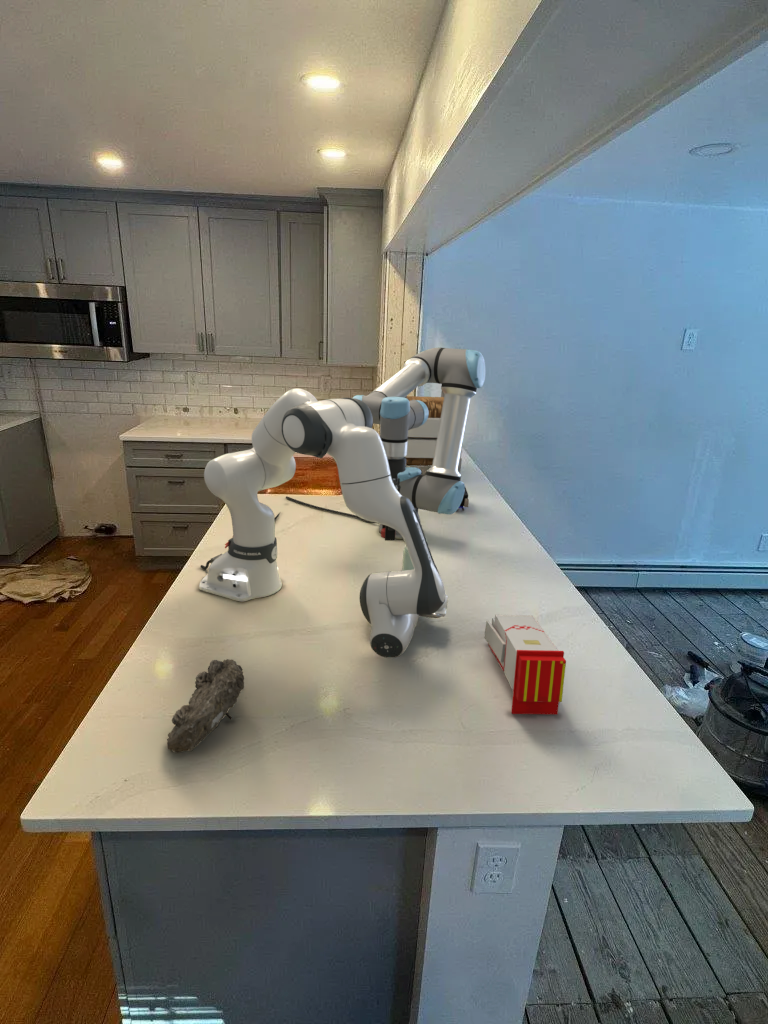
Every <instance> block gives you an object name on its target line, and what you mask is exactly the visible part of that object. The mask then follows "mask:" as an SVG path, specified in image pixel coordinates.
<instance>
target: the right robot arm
mask: <svg viewBox="0 0 768 1024" xmlns="http://www.w3.org/2000/svg"><path fill="white" fill-rule="evenodd" d="M485 381H486V361H485V358H484V355H483V354H482V353H481V352H480V351H479V350H473V349H469V348H453V347H452V348H451V347H450V348H449V347H432V348H428V349H424V350H423V351H420V352H418V353H416V354H414V355H413V356H412V357H410V358H408V359H407V360H406V361H405V362H404V364H403V365H402V368H400V369H399V370H398V371H397V372H396V373H394V374H393V375H391V376H390V377H389V378H387V380H385V381H384V382H383V383H382V384H380V385H378V387H376V388H375V389H374V390H372V391H370V393H369V394H368V395H364V394H356V395H354V396H353V397H352V398H355V399H358V400H361V401H363V402H364V403H365V404H366V405H367V406H368V407H369V409H370V411H371V414H372V418H373V424H374V425H379V436H380V438H381V441H382V443H383V446H384V449H385V452H386V456H387V459H388V463H389V468H390V473H391V478H392V481H393V483H394V486H395V487H396V489H397V490H398V492H399V493H400V494H401V495H402V496H404V497H406V498H408V499H409V500H410V501H411V503H412V505H413V506H414V509H415V511H416V513H417V516H418V518H419V521H420V524H421V518H420V515H419V510H421V511H422V510H423V511H427V512H432V513H437V514H439V515H442V514H443V515H453V514H455V513H456V512H457V511H458V509H460V508H459V506H460V504H461V502H462V499H463V496H464V492H465V489H464V488H465V487H466V485H465V483H464V482H463V481H462V480H461V479H462V475H461V474H459V472H458V465H459V459H460V453H461V448H462V449H463V443H462V442H464V437H465V430H466V425H467V420H468V414H469V407H470V403H471V399H472V398H473V397H474V396H475V395H477V389H481V388H483V386H484V384H485ZM426 384H439V385H441V386H440V390H441V392H442V391H443V392H444V401H443V406H442V412H441V418H440V424H439V429H438V435H437V441H436V447H435V452H434V458H433V464H432V465H431V466H429V468H428V469H427V470H426V473H425V474H422V470H421V468H419V467H415V466H411V467H410V466H407V465H406V457H405V456H406V455H407V444H408V441H407V440H408V430H410V429H413V428H418V427H420V426H421V425H423V424H424V423H425V422H426V421H427V419H428V416H429V411H428V408H427V406H426V404H425V403H423V402H422V401H420V400H410V401H409V400H408V399H407V398H405V397H406V396H409V395H410V394H411V393H412V392H413V391H414V390H416V389H417V388H418V387H423V386H424V385H426ZM461 454H462V453H461ZM285 499H287V500H290V501H292V502H295V503H297V504H301V505H302V506H306V507H308V508H309V507H310V508H312V509H316V510H321V511H324V512H329V513H333V514H337V515H341V516H347V517H350V518H354V519H358V520H360V521H362V522H365V523H367V524H379V523H375V522H371V521H367V520H365V519H362V518H360V517H358V516H356V515H355V514H353V513H347V512H343V511H338V510H334V509H329V508H326V507H321V506H317V505H314V504H310V503H308V502H305V501H301V500H298V499H296V498H293V497H290V496H285ZM421 526H422V527H423V525H422V524H421ZM383 528H385V538H384V541H387V542H388V541H404V539H403V537H402V535H401V534H400V533H399V532H398V531H396V530H395V529H393V528H391V527H389V526H386V525H383V524H379V525H378V533H379V534H380V535H381V529H383ZM395 532H396V533H395Z"/></svg>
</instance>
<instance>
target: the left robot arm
mask: <svg viewBox="0 0 768 1024" xmlns="http://www.w3.org/2000/svg"><path fill="white" fill-rule="evenodd" d="M373 426H374V425H373V418H372V414H371V411H370V409H369V407H368V406H367V405H366V404H365V403H364V402H363V401H361V400H358V399H355V398H353V397H341V398H328V399H327V398H326V399H322V400H318V399H317V398H316V397H315V395H314V394H312V393H311V392H310V391H308V390H306V389H303V388H291V389H289V390H287V391H286V392H285V393H283V394H282V395H281V396H279V397H278V398H277V399H276V400H275V402H274V403H273V404H272V405H271V406H270V407H269V408H268V409H267V411H266V413H265V414H264V415H263V416H262V418H261V419H260V421H259V422H258V424H257V425H256V427H255V428H254V429H253V431H252V433H251V446H252V448H249V449H245V450H240V451H233V452H229V453H224V454H222V455H219V456H217V457H215V458H213V459H211V460H209V461H208V462H207V463H206V466H205V468H204V472H203V479H204V483H205V486H206V488H207V489H208V490H209V492H210V493H211V494H212V495H213V496H215V497H216V498H218V499H220V500H221V501H223V503H224V504H225V506H226V507H227V508H228V510H229V513H230V517H231V525H232V537H231V538H229V539H228V540H227V542H225V544H224V549H227V550H226V551H224V552H223V553H220V554H218V555H216V556H214V557H211V558H210V559H209V560H207V561H206V563H205V565H203V564H201V565H200V568H201V569H203V570H207V569H208V570H207V574H206V575H205V576H204V577H203V578H202V579H201V580H200V581H199V583H198V584H199V585H198V589H199V590H200V591H202V592H206V593H209V594H213V595H216V596H219V597H223V598H227V599H229V600H233V601H237V602H240V603H241V602H248V601H251V600H253V599H258V598H265V597H269V596H273V594H274V595H275V593H277V592H279V591H280V590H281V588H282V587H283V582H282V580H281V577H280V573H279V567H278V561H277V560H278V559H277V558H278V539H277V537H276V521H275V517H276V516H275V512H274V511H273V509H272V508H271V507H270V506H269V505H267V504H265V503H263V502H260V501H259V497H258V495H259V494H258V493H259V492H261V491H265V490H268V489H273V488H276V487H279V486H281V485H283V484H285V483H287V482H289V481H290V480H292V479H293V478H294V476H295V473H296V469H297V464H296V463H297V462H296V460H295V457H294V455H295V454H299V455H305V456H312V457H314V458H318V459H323V458H324V457H325V456H326V455H329V456H330V457H331V458H333V460H334V462H335V463H336V467H337V474H338V479H339V484H340V490H341V495H342V498H343V501H344V504H345V506H346V508H347V509H348V510H349V511H350V512H351V514H353V515H356V516H358V517H360V518H362V519H365V520H367V521H371V522H375V523H374V524H377V523H379V525H380V524H383V525H386V526H389V527H391V528H393V529H395V530H396V531H398V532H399V533H400V534H401V535H402V537H403V539H404V540H403V541H404V544H405V547H407V550H408V553H409V555H410V558H411V561H412V564H413V567H414V569H413V570H405V571H402V570H395V571H392V570H391V571H390V570H389V571H381V572H373V573H372V572H371V573H369V574H368V575H367V577H366V578H365V580H364V581H363V583H362V584H361V587H360V591H359V606H360V609H361V612H362V615H363V617H364V618H365V619H366V621H367V622H368V623H369V625H370V634H369V635H370V636H369V644H370V647H371V650H372V651H373V652H374V653H375V654H376V655H377V656H379V657H382V658H386V659H392V658H393V659H394V658H397V657H400V656H402V655H403V654H404V653H405V652H406V650H407V648H408V647H409V645H410V643H411V640H412V638H413V636H414V633H415V629H416V627H417V624H418V622H419V619H420V617H421V618H428V619H440V618H442V617H443V618H444V617H445V616H446V614H447V609H448V602H449V596H448V595H447V594H446V587H445V584H444V581H443V579H442V577H441V573H440V571H439V569H438V567H437V565H436V563H435V560H434V559H433V555H432V553H431V550H430V549H431V548H430V546H429V543H428V540H427V538H426V536H425V532H424V530H423V525H422V524H420V522H421V520H420V521H419V518H420V517H419V518H418V516H417V513H416V511H415V509H414V506H413V505H412V503H411V501H410V500H409V499H408V498H406V497H404V496H402V495H401V494H400V493H399V492H398V490H397V489H396V487H395V486H394V483H393V481H392V478H391V473H390V468H389V463H388V459H387V456H386V452H385V449H384V446H383V443H382V441H381V438H380V433H379V432H378V431H377V430H376V429H374V428H373ZM421 525H422V526H421Z"/></svg>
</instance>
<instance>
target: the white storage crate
mask: <svg viewBox="0 0 768 1024" xmlns="http://www.w3.org/2000/svg"><path fill="white" fill-rule="evenodd" d="M440 393H441V394H440V396H415V395H414V396H413V395H412V396H411V395H407V396H406V397H405V398H407V399H408V400H409V401H410V400H420V401H422V402H423V403H425V404H426V406H427V408H428V411H429V416H428V419H427V421H426V422H425V423H424V424H423V425H421V426H420V427H418V428H413V429H410V430H408V440H407V441H408V444H407V455H406V456H405V457H406V467H410V466H411V467H417V466H418V467H431V466H432V464H433V458H434V452H435V447H436V441H437V435H438V429H439V424H440V418H441V412H442V406H443V401H444V392H443V391H442V390H441V392H440ZM463 442H464V441H463ZM463 442H462V444H463ZM462 453H463V447H462V448H461V453H460V459H459V465H458V472H459V474H460V475H461V472H462V461H463V460H462Z"/></svg>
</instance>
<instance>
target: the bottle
mask: <svg viewBox="0 0 768 1024" xmlns="http://www.w3.org/2000/svg"><path fill="white" fill-rule="evenodd" d="M402 553H403V554H402V569H401V571H405V570H413V569H414V567H413V564H412V561H411V558H410V555H409V553H408V550H407V547H406V546H405V547H404V548H403V550H402Z"/></svg>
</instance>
